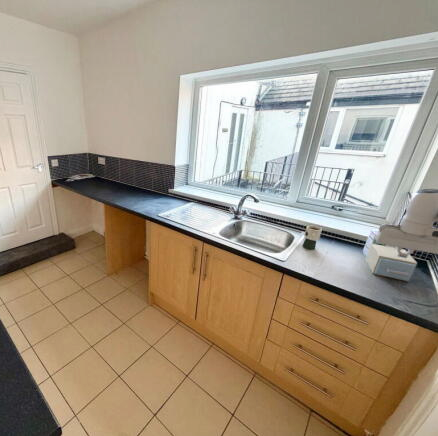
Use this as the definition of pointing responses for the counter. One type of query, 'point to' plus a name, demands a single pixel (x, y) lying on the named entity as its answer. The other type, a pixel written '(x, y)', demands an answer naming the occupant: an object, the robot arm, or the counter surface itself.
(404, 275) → the drawer
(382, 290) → the counter surface
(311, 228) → the character mug
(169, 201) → the counter surface
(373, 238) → the syrup box
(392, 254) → the compartment unit
